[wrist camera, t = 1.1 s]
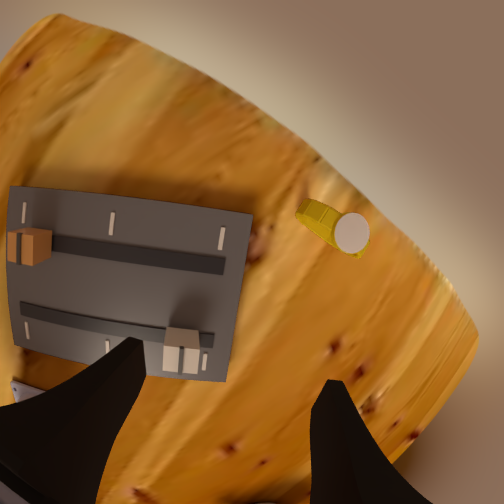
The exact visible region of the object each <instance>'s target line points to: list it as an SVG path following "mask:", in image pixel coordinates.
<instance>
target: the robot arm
mask: <svg viewBox="0 0 504 504" xmlns="http://www.w3.org/2000/svg"><path fill="white" fill-rule="evenodd" d="M146 374H147V372H146V364H145V354H144V344H143V340H140V339H137V338H134V337H130V336H129V337H127V338H126V339H125V340H123V341H122V342H121V343H119V344H118V345H117V346H116V347H114V348H113V349H112V350H110V351H109V352H108V353H106V354H105V355H104V356H103V357H101V358H100V359H98V360H97V361H96V362H94V363H93V364H91V365H90V366H89V367H87V368H86V369H84V370H83V371H81V372H80V373H78V374H76V375H75V376H73V377H72V378H70V379H69V380H67V381H65V382H63V383H62V384H60V385H58V386H56V387H54V388H52V389H50V390H48V391H43V390H40V389H37V388H34V387H31V386H28V385H25V384H22V383H19V382H17V381H14V380H13V381H11V387H12V391H13V394H14V397H15V400H16V403H13V404H10V405H6V406H1V407H0V504H95V502H96V497H97V493H98V489H99V485H100V482H101V478H102V475H103V472H104V468H105V465H106V462H107V459H108V457H109V454H110V451H111V448H112V446H113V443H114V441H115V439H116V436H117V434H118V432H119V431H120V429H121V427H122V425H123V423H124V421H125V419H126V418H127V416H128V414H129V412H130V410H131V408H132V406H133V405H134V403H135V401H136V399H137V397H138V395H139V393H140V390H141V388H142V385H143V382H144V380H145V377H146ZM310 450H311V473H312V483H311V495H310V504H433V503H431V502H430V501H428V500H427V499H426V498H424V497H423V496H422V495H421V494H420V493H419V492H417V491H416V490H415V489H414V488H413V487H412V486H411V485H410V484H409V483H408V482H407V481H406V480H405V479H404V478H403V477H402V476H401V475H400V474H399V473H398V471H397V470H396V469H395V468H394V467H393V465H392V464H391V463H390V462H389V460H388V459H387V458H386V456H385V455H384V454H383V452H382V451H381V449H380V448H379V446H378V445H377V443H376V442H375V440H374V439H373V437H372V436H371V434H370V432H369V430H368V429H367V427H366V425H365V423H364V422H363V420H362V418H361V416H360V414H359V413H358V411H357V409H356V407H355V405H354V403H353V401H352V399H351V397H350V395H349V393H348V391H347V389H346V387H345V385H344V383H343V381H338V380H329V379H328V380H327V381H326V383H325V385H324V387H323V389H322V391H321V393H320V394H319V396H318V398H317V400H316V402H315V403H314V405H313V407H312V409H311V419H310Z"/></svg>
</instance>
